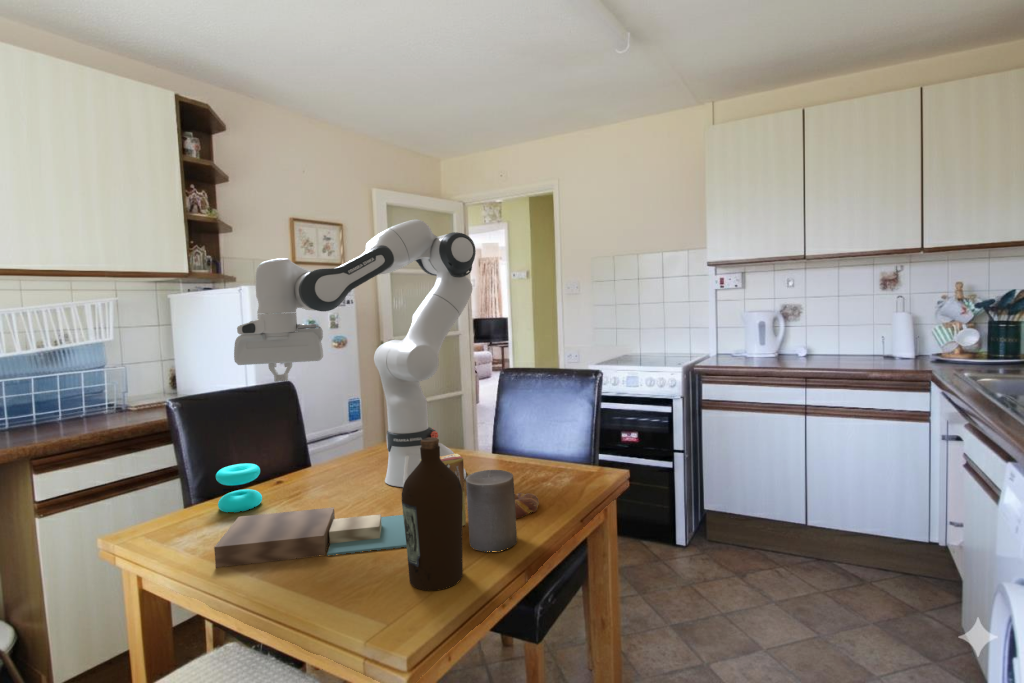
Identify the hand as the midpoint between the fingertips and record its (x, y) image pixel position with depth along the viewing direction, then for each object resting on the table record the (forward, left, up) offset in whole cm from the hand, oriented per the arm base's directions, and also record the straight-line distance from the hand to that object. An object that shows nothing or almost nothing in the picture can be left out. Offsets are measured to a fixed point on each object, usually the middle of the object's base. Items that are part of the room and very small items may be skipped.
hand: (281, 381), depth 140 cm
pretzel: (-54, +19, -32) cm, 65 cm away
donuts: (+12, -2, -31) cm, 34 cm away
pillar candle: (-46, +36, -31) cm, 66 cm away
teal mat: (-22, +25, -31) cm, 45 cm away
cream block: (-18, +25, -31) cm, 44 cm away
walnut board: (-3, +25, -31) cm, 40 cm away
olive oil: (-34, +48, -31) cm, 67 cm away
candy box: (-37, +25, -31) cm, 55 cm away
